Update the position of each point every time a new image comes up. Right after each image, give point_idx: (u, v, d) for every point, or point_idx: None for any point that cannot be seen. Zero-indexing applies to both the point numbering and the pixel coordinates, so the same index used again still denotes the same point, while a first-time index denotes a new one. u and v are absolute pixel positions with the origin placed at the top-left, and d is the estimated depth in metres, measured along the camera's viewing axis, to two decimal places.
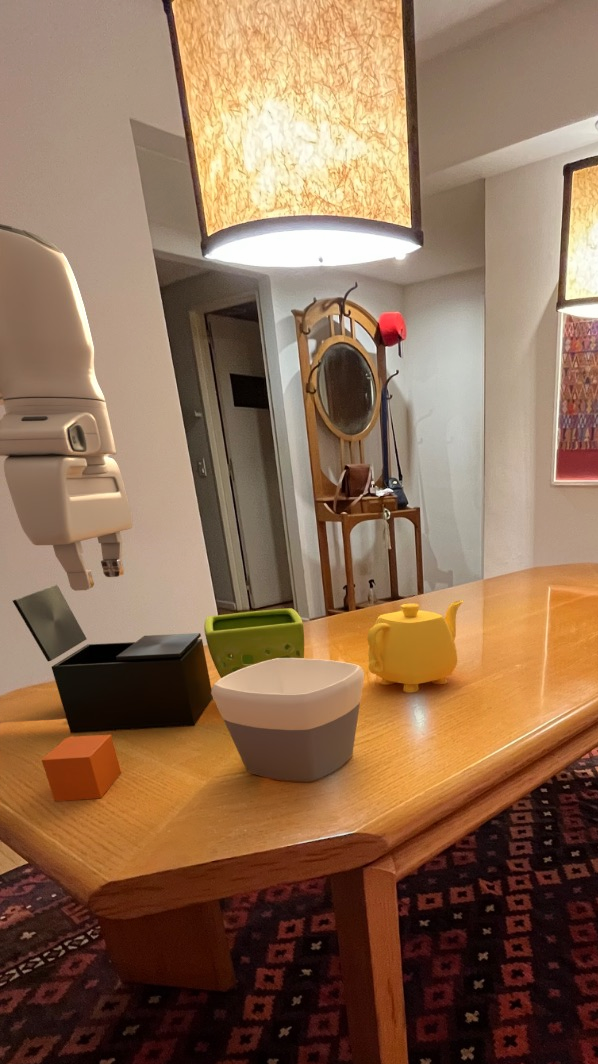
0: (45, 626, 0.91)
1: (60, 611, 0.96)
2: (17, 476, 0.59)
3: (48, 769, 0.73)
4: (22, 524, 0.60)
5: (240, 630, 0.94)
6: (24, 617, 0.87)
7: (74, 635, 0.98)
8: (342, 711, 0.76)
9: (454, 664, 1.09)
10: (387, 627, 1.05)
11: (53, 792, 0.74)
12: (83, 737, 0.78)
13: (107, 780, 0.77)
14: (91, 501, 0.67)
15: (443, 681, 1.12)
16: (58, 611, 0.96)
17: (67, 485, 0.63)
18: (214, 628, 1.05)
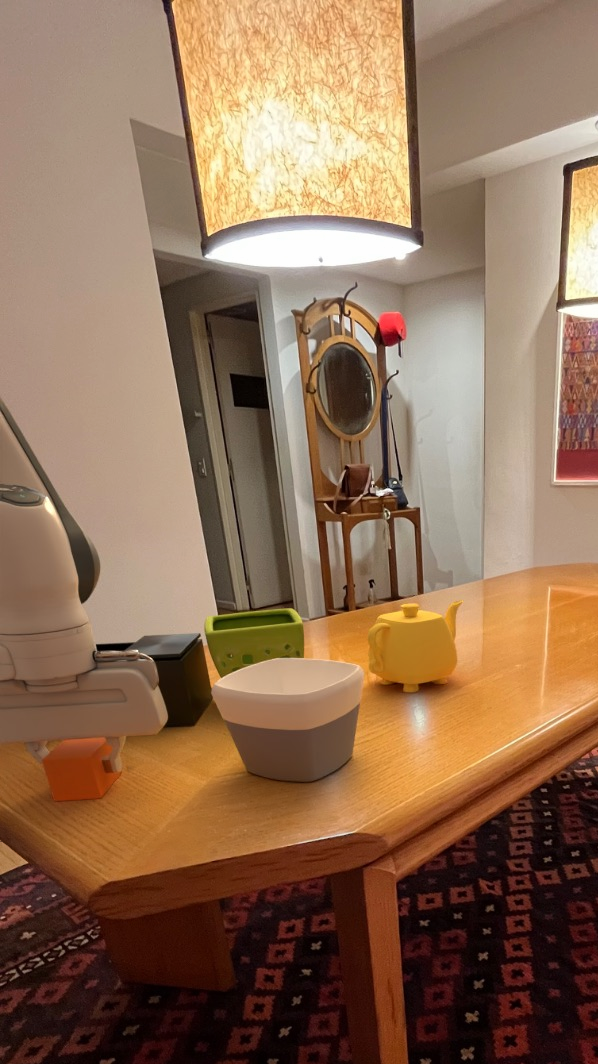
0: None
1: None
2: None
3: (48, 769, 0.73)
4: None
5: (240, 630, 0.94)
6: None
7: None
8: (342, 711, 0.76)
9: (454, 664, 1.09)
10: (387, 627, 1.05)
11: (53, 792, 0.74)
12: None
13: (107, 780, 0.77)
14: (40, 712, 0.72)
15: (443, 681, 1.12)
16: None
17: None
18: (214, 628, 1.05)
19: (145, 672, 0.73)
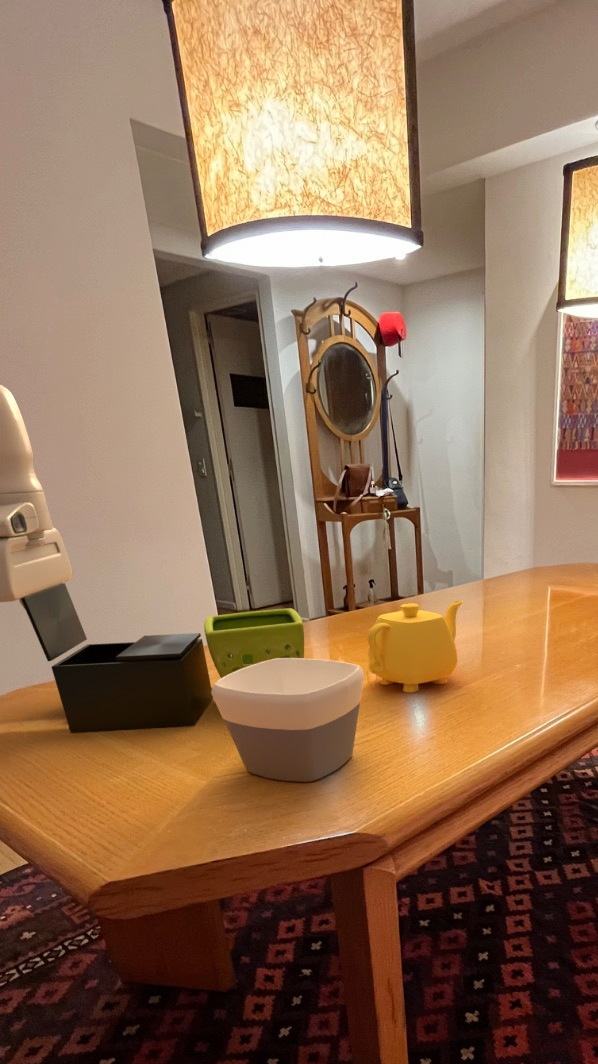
0: (49, 625, 0.91)
1: (65, 610, 0.96)
2: None
3: None
4: None
5: (240, 630, 0.94)
6: (30, 616, 0.87)
7: (75, 635, 0.98)
8: (342, 711, 0.76)
9: (454, 664, 1.09)
10: (387, 627, 1.05)
11: None
12: None
13: None
14: (33, 565, 0.89)
15: (443, 681, 1.12)
16: (63, 610, 0.96)
17: (12, 557, 0.84)
18: (214, 628, 1.05)
19: None
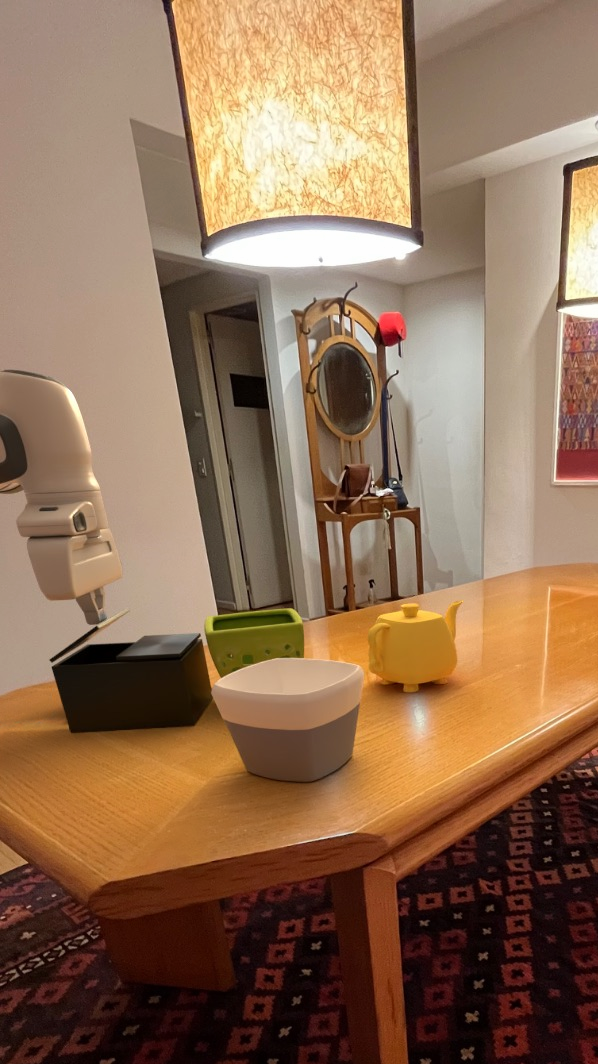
0: (84, 640, 0.93)
1: (104, 627, 0.98)
2: (37, 552, 0.82)
3: None
4: (40, 586, 0.83)
5: (240, 630, 0.94)
6: (84, 636, 0.89)
7: (86, 641, 0.99)
8: (342, 711, 0.76)
9: (454, 664, 1.09)
10: (387, 627, 1.05)
11: None
12: None
13: None
14: (90, 564, 0.90)
15: (443, 681, 1.12)
16: (104, 628, 0.97)
17: (72, 555, 0.85)
18: (214, 628, 1.05)
19: None
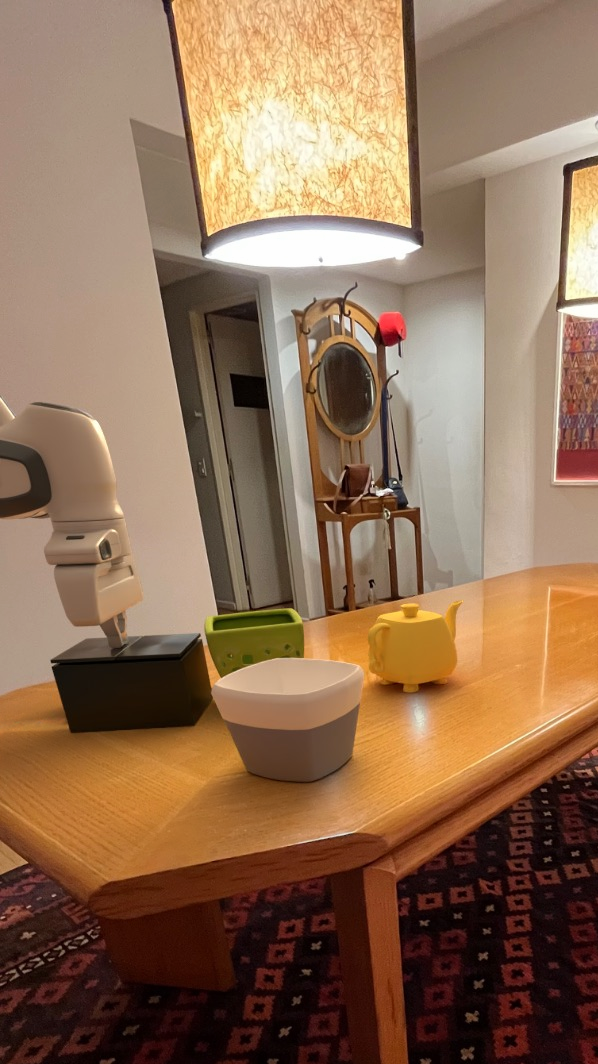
0: None
1: None
2: (63, 580, 0.83)
3: None
4: (66, 613, 0.84)
5: (240, 630, 0.94)
6: (97, 659, 0.91)
7: None
8: (342, 711, 0.76)
9: (454, 664, 1.09)
10: (387, 627, 1.05)
11: None
12: None
13: None
14: (113, 589, 0.91)
15: (443, 681, 1.12)
16: None
17: (97, 582, 0.87)
18: (214, 628, 1.05)
19: None
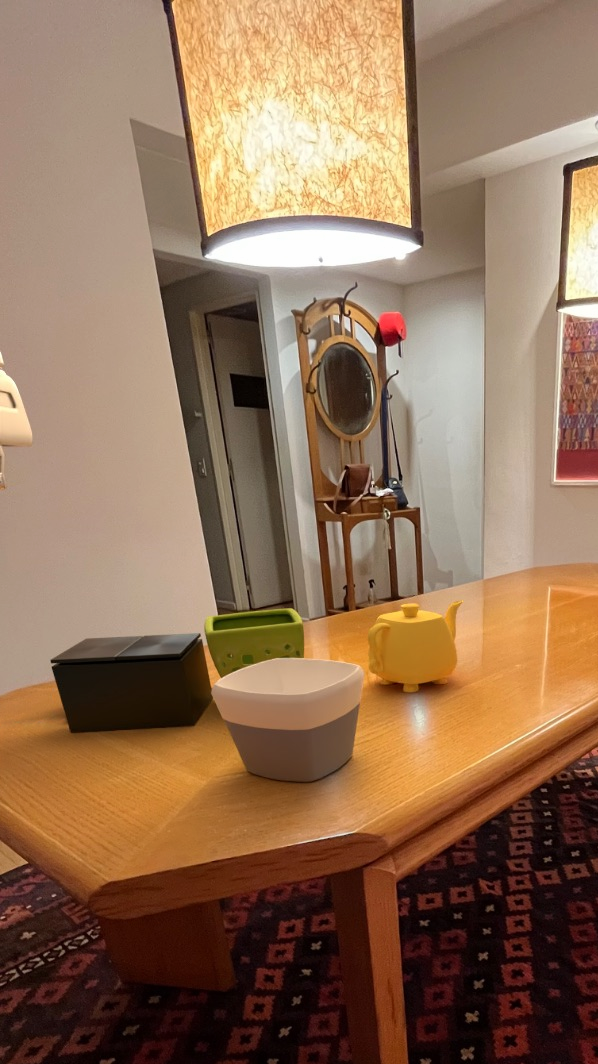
0: None
1: None
2: None
3: None
4: None
5: (240, 630, 0.94)
6: (97, 659, 0.91)
7: None
8: (342, 711, 0.76)
9: (454, 664, 1.09)
10: (387, 627, 1.05)
11: None
12: None
13: None
14: None
15: (443, 681, 1.12)
16: None
17: None
18: (214, 628, 1.05)
19: None
